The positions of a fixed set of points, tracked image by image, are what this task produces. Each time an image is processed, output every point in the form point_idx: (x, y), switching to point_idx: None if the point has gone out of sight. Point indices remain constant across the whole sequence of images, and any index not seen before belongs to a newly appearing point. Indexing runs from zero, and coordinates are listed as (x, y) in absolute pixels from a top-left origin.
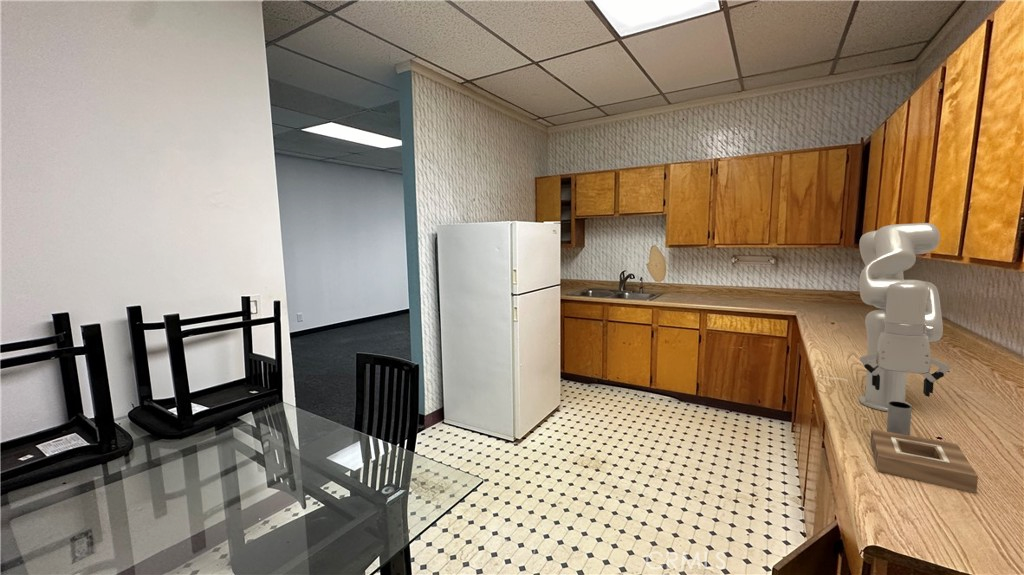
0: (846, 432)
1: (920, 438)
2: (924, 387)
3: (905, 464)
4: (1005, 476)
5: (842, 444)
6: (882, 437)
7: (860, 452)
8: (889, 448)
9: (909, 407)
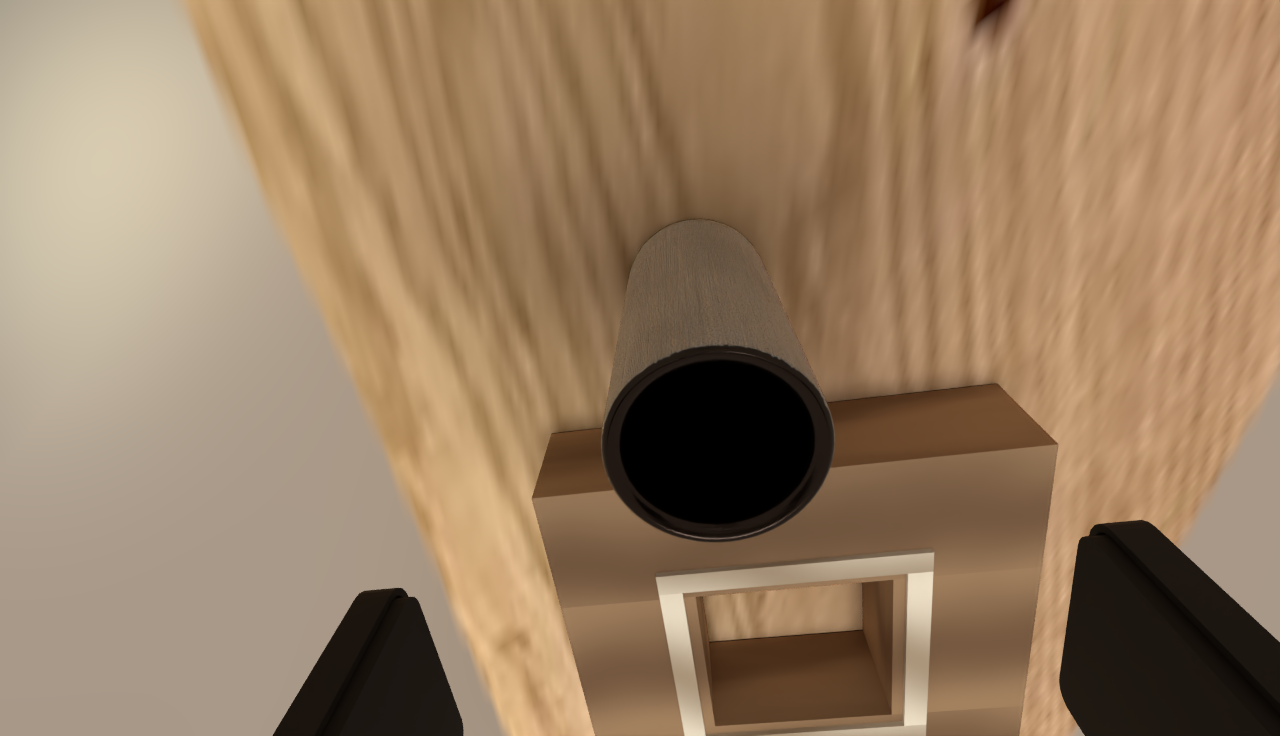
0: (395, 352)
1: (832, 483)
2: (1159, 714)
3: None
4: (1185, 464)
5: (429, 545)
6: (611, 599)
7: (527, 587)
8: (655, 716)
9: (810, 493)
